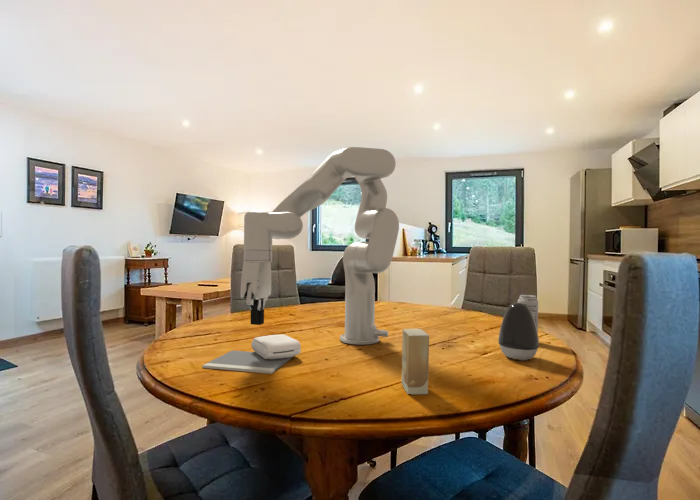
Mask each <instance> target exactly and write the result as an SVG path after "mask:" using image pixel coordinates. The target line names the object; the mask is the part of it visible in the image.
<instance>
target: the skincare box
mask: <svg viewBox="0 0 700 500" xmlns="http://www.w3.org/2000/svg"><path fill="white" fill-rule="evenodd" d="M401 346H402V350H401V351H402V353H401V357H402V358H401V385H403V386H402V387H403V389H404V390H405V392H406V394H407V395H408V394H411V395H428V394H429V365H430V363H429V357H430V356H429V355H430V335H429V334H428V333H426V331H424V330H423V329H422V328H402V345H401Z"/></svg>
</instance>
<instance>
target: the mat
mask: <svg viewBox="0 0 700 500" xmlns="http://www.w3.org/2000/svg"><path fill="white" fill-rule="evenodd" d="M291 359H293V357H289V358H283V359H273V360H269V359H265V358H263V357H262V356H260V355H259V354H257V353H256V352H254V351H244V350H230V351H228V352H226V353H224V354H222V355H220V356H218V357H216V358H214V359H212V360H210V361H208V362H206V363H204V364H202V369H211V370H223V371H224V370H225V371H226V370H227V371H236V372H248V373H261V374H269V375H270V374H271V375H272V374H274V372H276V371H277V370H279V369H280V368H281V367H282V366H283V365H285V364H286V363H288V361H290V360H291Z"/></svg>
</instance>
